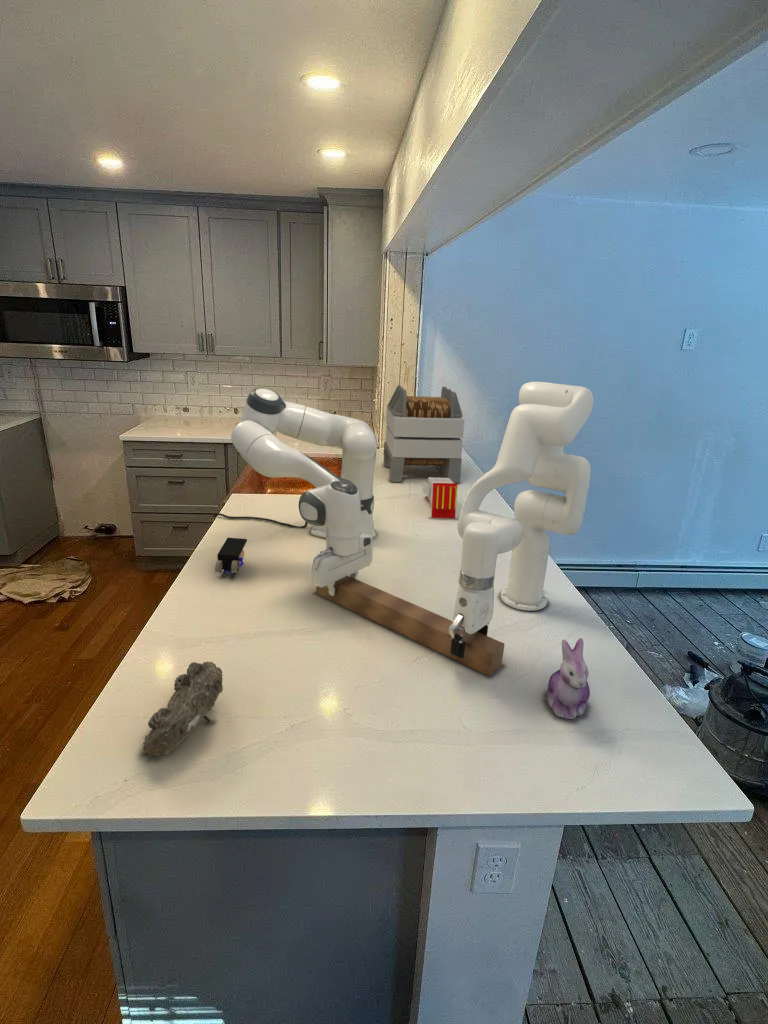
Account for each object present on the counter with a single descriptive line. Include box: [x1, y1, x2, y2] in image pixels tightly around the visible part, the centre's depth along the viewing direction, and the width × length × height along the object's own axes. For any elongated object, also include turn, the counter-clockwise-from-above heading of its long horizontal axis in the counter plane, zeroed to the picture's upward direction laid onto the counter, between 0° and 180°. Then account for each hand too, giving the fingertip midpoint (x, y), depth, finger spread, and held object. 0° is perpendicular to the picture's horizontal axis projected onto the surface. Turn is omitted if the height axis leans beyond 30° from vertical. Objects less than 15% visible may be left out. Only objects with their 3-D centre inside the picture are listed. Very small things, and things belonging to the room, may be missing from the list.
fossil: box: [142, 661, 224, 757], centre depth 105 cm, size 22×10×15 cm
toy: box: [422, 476, 458, 519], centre depth 227 cm, size 12×13×30 cm
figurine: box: [546, 637, 591, 720], centre depth 113 cm, size 9×10×15 cm
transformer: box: [383, 384, 465, 484], centre depth 268 cm, size 34×33×41 cm
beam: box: [315, 575, 505, 677], centre depth 141 cm, size 54×6×6 cm, turn 50°
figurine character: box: [214, 537, 248, 578], centre depth 166 cm, size 7×8×15 cm
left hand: (342, 590), depth 153 cm, fingers closed on beam, 5 cm apart
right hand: (468, 646), depth 129 cm, fingers open, 9 cm apart
